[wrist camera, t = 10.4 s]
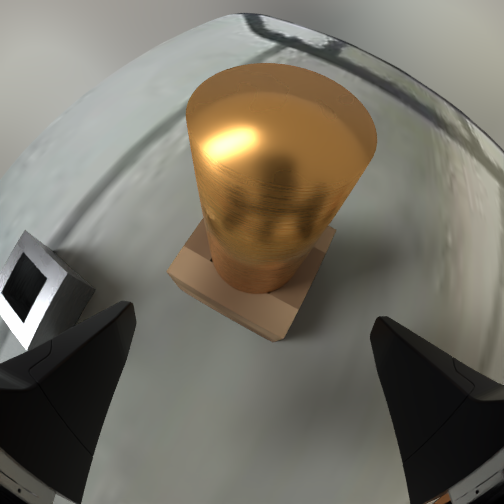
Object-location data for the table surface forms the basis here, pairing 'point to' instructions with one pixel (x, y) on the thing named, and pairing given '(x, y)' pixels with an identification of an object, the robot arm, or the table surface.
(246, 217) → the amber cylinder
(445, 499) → the whiskey bottle
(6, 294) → the block
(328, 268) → the table surface
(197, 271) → the wooden square ring
